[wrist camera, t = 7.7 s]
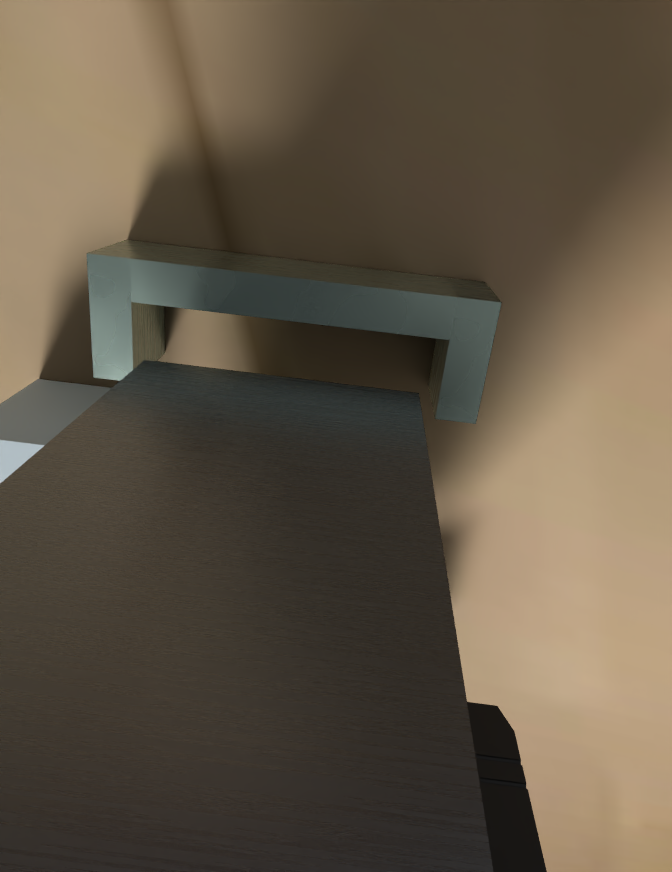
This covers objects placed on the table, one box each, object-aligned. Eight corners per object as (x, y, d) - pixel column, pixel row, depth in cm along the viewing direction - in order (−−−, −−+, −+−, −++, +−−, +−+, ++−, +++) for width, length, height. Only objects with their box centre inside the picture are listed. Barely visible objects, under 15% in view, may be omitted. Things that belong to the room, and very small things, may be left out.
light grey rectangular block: (38, 378, 19) (-46, 434, 15) (118, 388, 19) (55, 446, 15) (56, 574, 21) (-10, 660, 18) (126, 583, 21) (74, 671, 18)
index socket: (126, 239, 17) (87, 253, 14) (484, 282, 17) (501, 302, 14) (137, 613, 22) (109, 667, 20) (411, 648, 22) (415, 706, 19)
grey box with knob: (367, 700, 17) (338, 1766, 6) (150, 672, 17) (-295, 1666, 6) (418, 393, 14) (611, 1625, 2) (144, 359, 14) (-1036, 1372, 2)
